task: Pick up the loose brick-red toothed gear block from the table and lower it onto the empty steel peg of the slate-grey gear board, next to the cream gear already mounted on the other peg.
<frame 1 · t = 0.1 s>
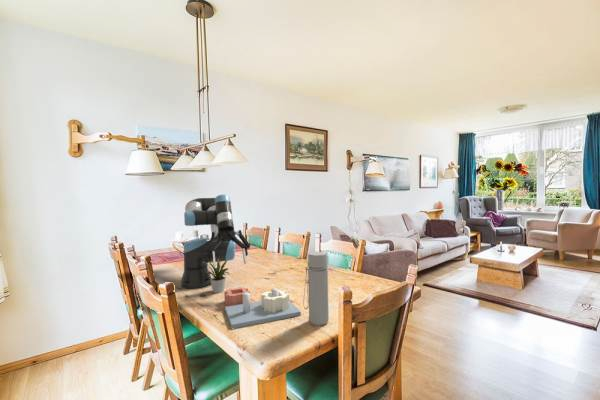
hand: (230, 264, 128), 15 cm above the table, tool tilted 35°, fingers open, 13 cm apart
water bottle: (316, 322, 104), on the table
gear: (237, 302, 123), on the table
board: (261, 312, 112), on the table
house plant: (215, 292, 138), on the table
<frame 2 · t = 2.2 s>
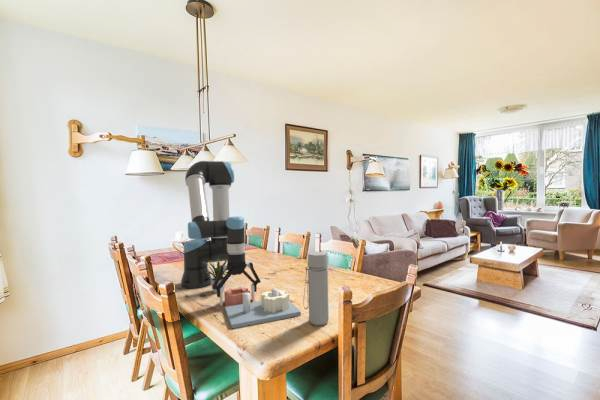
hand: (237, 301, 123), 0 cm above the table, tool pointing down, fingers open, 13 cm apart
nothing on the table moved.
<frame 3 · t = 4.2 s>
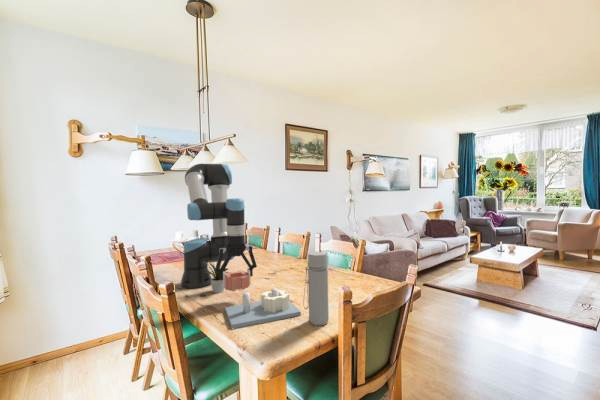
hand: (236, 285, 124), 7 cm above the table, tool pointing down, fingers closed on gear, 10 cm apart
gear: (236, 286, 124), point 7 cm above the table, touching gripper
everything else where it was.
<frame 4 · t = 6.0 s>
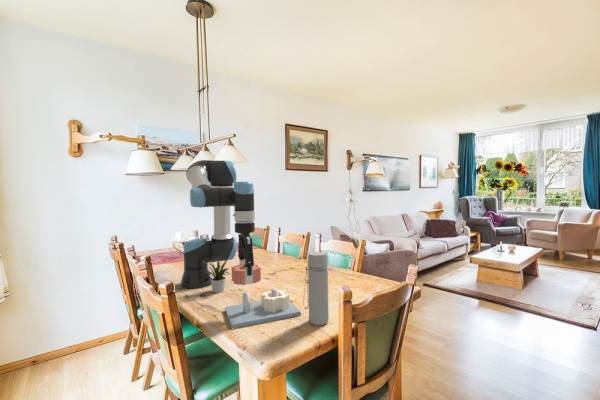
hand: (246, 279, 110), 14 cm above the table, tool pointing down, fingers closed on gear, 10 cm apart
gear: (246, 280, 110), point 14 cm above the table, touching gripper
everything else where it was.
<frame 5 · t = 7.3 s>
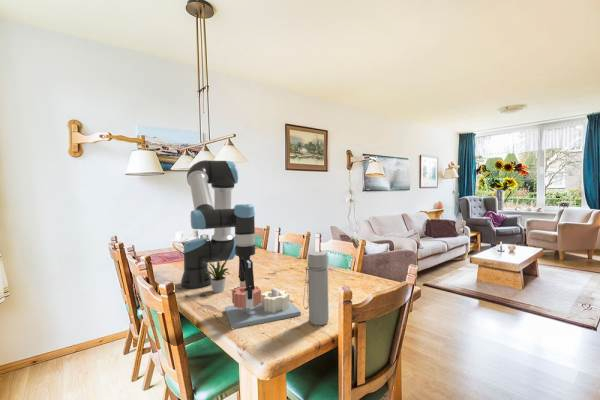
hand: (246, 302, 110), 5 cm above the table, tool pointing down, fingers closed on gear, 10 cm apart
gear: (246, 302, 110), point 5 cm above the table, touching gripper
everything else where it was.
when the fingers open (3 cm above the table, at t = 8.2 s): gear drops 1 cm, resting on board.
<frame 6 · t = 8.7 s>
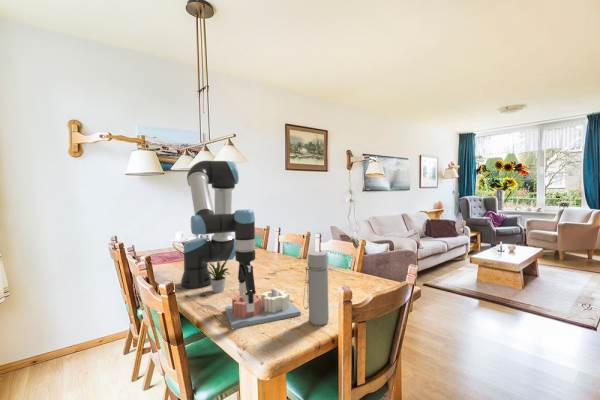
hand: (246, 304, 110), 4 cm above the table, tool pointing down, fingers open, 13 cm apart
gear: (246, 311, 110), point 1 cm above the table, touching board
everything else where it was.
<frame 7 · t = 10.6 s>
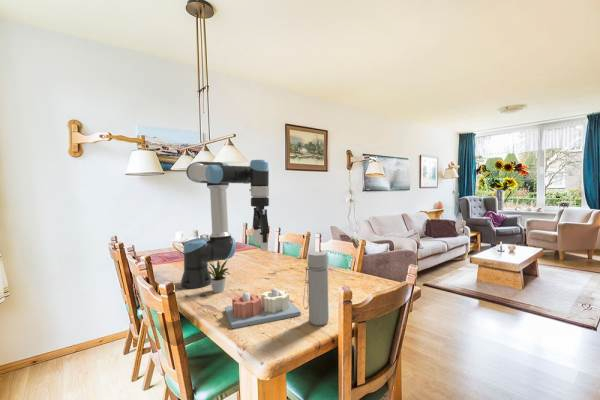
hand: (260, 247, 121), 24 cm above the table, tool pointing down, fingers open, 13 cm apart
nothing on the table moved.
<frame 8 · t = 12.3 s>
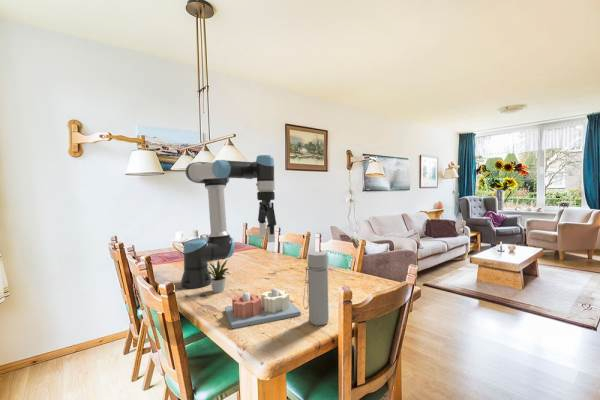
hand: (266, 239, 125), 27 cm above the table, tool pointing down, fingers open, 13 cm apart
nothing on the table moved.
at the end: gear 0.0 cm from the target spot on the board, point 1.5 cm above the board's base; the gripper is holding nothing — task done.
